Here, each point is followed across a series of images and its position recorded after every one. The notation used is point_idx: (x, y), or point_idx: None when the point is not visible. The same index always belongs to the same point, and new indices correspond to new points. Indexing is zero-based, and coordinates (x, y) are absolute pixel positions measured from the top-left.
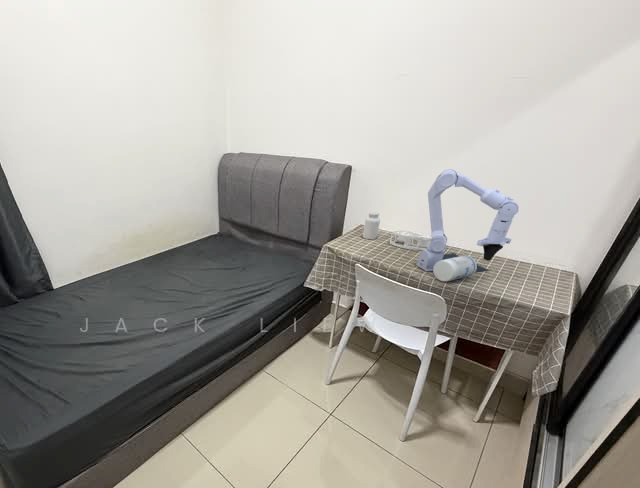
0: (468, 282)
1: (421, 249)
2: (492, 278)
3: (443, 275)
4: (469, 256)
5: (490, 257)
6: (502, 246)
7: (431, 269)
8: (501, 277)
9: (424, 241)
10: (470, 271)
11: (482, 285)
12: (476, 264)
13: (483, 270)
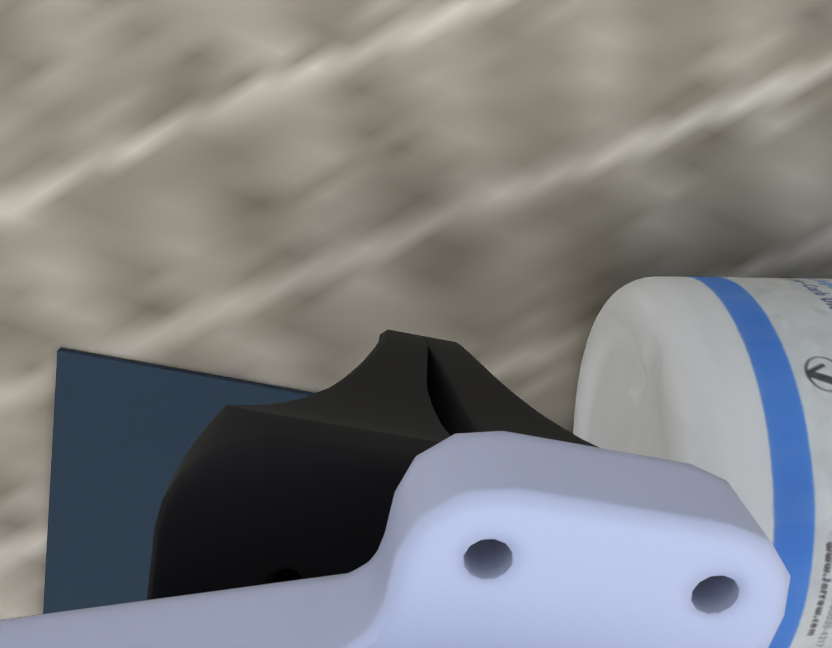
0: (754, 194)
1: None
2: (265, 128)
3: None
4: None
5: (449, 360)
6: (287, 448)
7: None
8: (81, 88)
9: None
10: (820, 291)
11: (676, 31)
12: (699, 363)
13: (134, 363)
